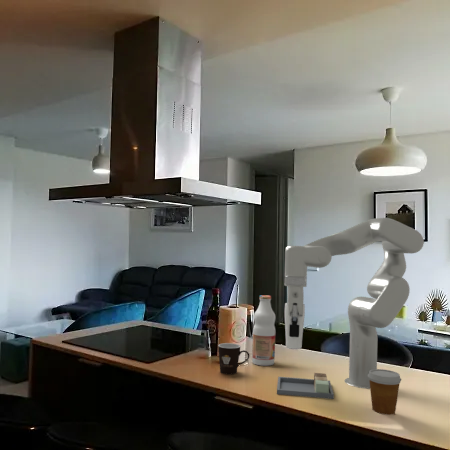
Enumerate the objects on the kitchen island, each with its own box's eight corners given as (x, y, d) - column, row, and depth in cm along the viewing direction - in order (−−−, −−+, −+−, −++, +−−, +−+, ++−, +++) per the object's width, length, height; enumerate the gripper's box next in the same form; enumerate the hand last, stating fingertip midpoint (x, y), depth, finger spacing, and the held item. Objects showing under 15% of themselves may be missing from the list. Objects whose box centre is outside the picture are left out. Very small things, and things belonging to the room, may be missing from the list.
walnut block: (325, 385, 156) (325, 373, 156) (326, 388, 152) (326, 376, 152) (313, 384, 156) (314, 372, 157) (314, 387, 152) (314, 375, 153)
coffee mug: (212, 371, 171) (213, 345, 172) (227, 367, 177) (228, 342, 178) (235, 378, 163) (236, 350, 164) (250, 374, 170) (251, 347, 170)
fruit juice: (248, 361, 189) (250, 294, 190) (267, 359, 193) (269, 294, 194) (258, 366, 180) (260, 297, 182) (278, 365, 184) (280, 297, 185)
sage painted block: (327, 393, 147) (327, 381, 147) (328, 397, 143) (328, 384, 143) (315, 392, 148) (315, 380, 148) (315, 396, 144) (316, 383, 144)
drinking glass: (290, 344, 157) (291, 301, 157) (307, 348, 152) (308, 303, 153) (279, 347, 151) (281, 303, 152) (297, 351, 147) (298, 305, 148)
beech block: (326, 389, 151) (326, 377, 152) (327, 392, 147) (327, 380, 148) (314, 388, 152) (314, 376, 152) (315, 391, 148) (315, 379, 148)
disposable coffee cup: (366, 416, 130) (366, 374, 131) (367, 406, 139) (368, 367, 140) (400, 422, 127) (401, 379, 128) (400, 411, 136) (401, 371, 137)
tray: (329, 387, 157) (329, 380, 157) (333, 402, 142) (333, 394, 142) (278, 383, 159) (278, 376, 159) (276, 397, 144) (276, 389, 145)
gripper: (307, 284, 144) (306, 340, 143) (305, 280, 161) (304, 330, 160) (284, 283, 145) (282, 339, 144) (284, 279, 162) (283, 329, 161)
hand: (294, 334), depth 152 cm, fingers closed on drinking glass, 6 cm apart
